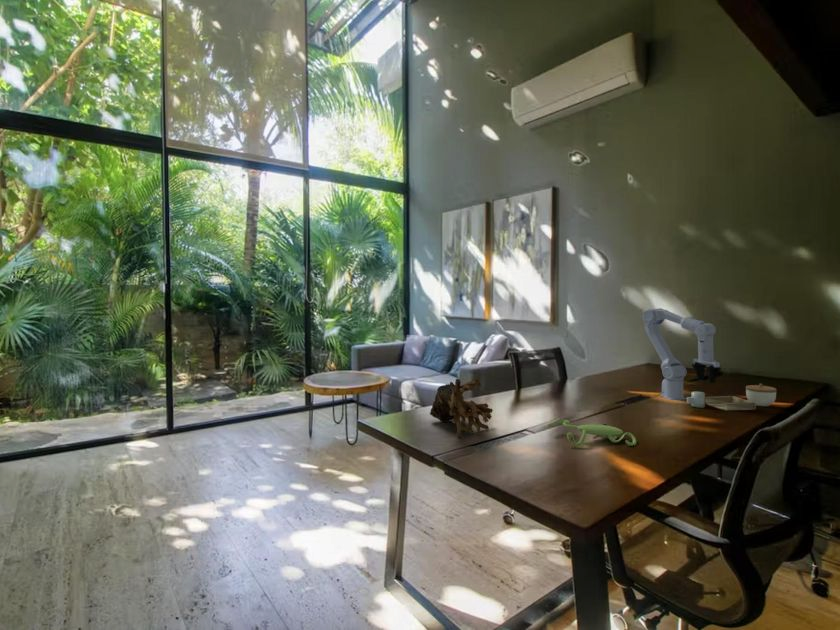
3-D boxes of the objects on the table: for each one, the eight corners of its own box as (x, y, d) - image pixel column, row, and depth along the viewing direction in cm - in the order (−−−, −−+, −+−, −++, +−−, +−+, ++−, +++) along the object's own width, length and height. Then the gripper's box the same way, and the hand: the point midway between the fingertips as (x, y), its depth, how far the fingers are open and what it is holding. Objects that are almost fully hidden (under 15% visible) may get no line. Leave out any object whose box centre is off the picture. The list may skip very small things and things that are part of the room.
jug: (684, 405, 197) (684, 391, 197) (700, 404, 198) (700, 391, 197) (691, 408, 192) (691, 394, 192) (707, 407, 193) (707, 393, 192)
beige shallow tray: (703, 403, 200) (703, 396, 200) (732, 402, 201) (732, 395, 201) (725, 411, 187) (725, 403, 187) (755, 410, 187) (755, 403, 187)
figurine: (544, 432, 165) (544, 417, 165) (616, 430, 166) (615, 415, 165) (561, 450, 146) (561, 433, 146) (642, 447, 147) (642, 430, 147)
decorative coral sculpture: (454, 395, 194) (511, 391, 173) (443, 447, 184) (502, 450, 163) (413, 371, 180) (470, 364, 159) (399, 427, 170) (457, 427, 149)
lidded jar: (765, 402, 200) (765, 381, 200) (782, 408, 189) (782, 386, 189) (740, 402, 201) (740, 381, 201) (755, 408, 190) (755, 386, 190)
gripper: (726, 352, 190) (726, 383, 191) (703, 348, 205) (704, 378, 205) (710, 352, 190) (710, 384, 190) (688, 349, 205) (689, 378, 205)
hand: (706, 381), depth 198 cm, fingers open, 7 cm apart
